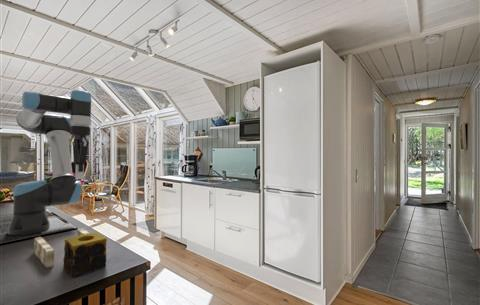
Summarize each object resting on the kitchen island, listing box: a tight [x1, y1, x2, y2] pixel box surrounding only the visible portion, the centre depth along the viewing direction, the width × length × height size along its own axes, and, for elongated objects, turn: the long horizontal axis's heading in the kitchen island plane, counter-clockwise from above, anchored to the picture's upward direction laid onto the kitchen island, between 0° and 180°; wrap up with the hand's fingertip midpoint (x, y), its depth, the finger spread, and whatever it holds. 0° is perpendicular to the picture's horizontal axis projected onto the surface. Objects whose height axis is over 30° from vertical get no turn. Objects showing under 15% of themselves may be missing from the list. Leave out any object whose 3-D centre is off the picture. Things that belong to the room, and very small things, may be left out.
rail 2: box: [76, 228, 90, 236], centre depth 97 cm, size 18×2×6 cm, turn 50°
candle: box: [62, 231, 108, 279], centre depth 81 cm, size 10×10×10 cm
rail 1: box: [33, 236, 55, 269], centre depth 86 cm, size 18×2×6 cm, turn 51°
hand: (79, 178), depth 107 cm, fingers closed
